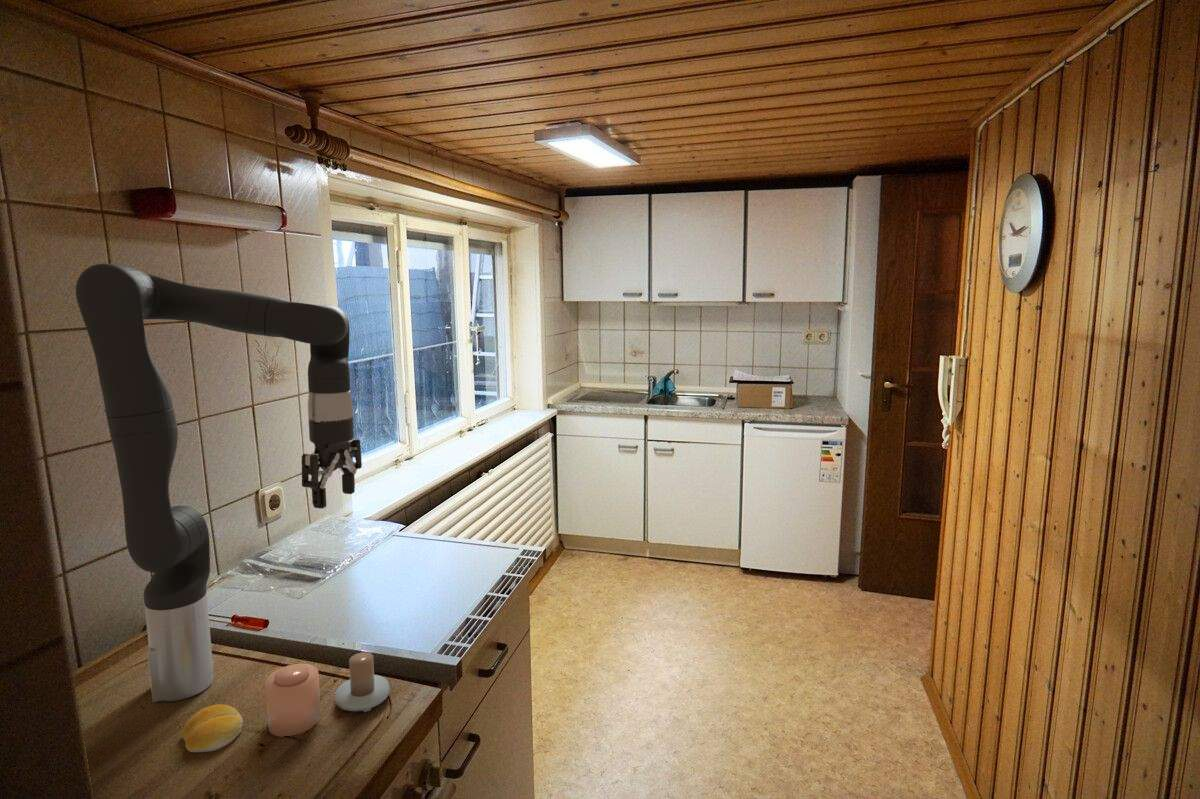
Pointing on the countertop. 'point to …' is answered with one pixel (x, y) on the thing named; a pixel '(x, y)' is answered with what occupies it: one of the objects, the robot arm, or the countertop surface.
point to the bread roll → (212, 728)
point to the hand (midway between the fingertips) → (334, 500)
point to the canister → (292, 699)
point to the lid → (362, 685)
